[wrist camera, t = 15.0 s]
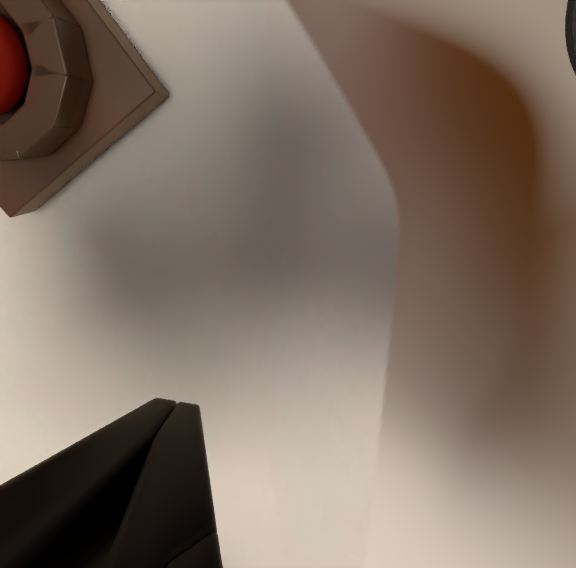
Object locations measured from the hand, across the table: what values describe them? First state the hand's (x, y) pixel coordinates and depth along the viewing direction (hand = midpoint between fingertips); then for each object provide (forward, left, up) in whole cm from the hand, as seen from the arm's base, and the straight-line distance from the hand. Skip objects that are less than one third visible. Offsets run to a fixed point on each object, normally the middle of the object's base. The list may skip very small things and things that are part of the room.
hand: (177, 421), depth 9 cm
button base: (+10, -6, -12) cm, 17 cm away
